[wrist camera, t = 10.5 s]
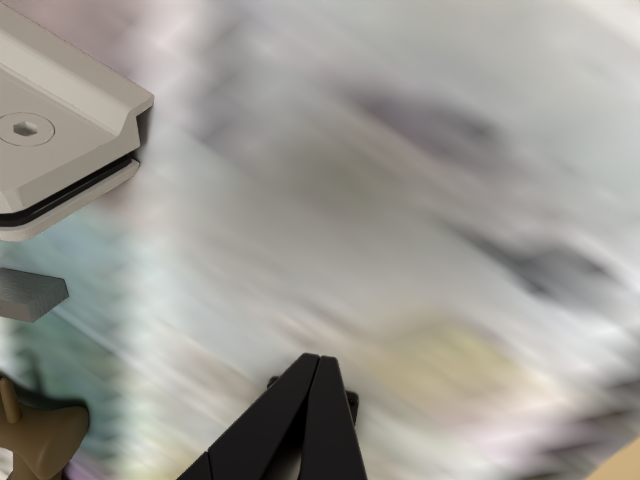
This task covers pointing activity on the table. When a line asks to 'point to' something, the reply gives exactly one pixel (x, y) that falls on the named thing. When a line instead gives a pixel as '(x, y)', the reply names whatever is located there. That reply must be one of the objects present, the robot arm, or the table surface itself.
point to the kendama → (39, 436)
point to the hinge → (59, 127)
